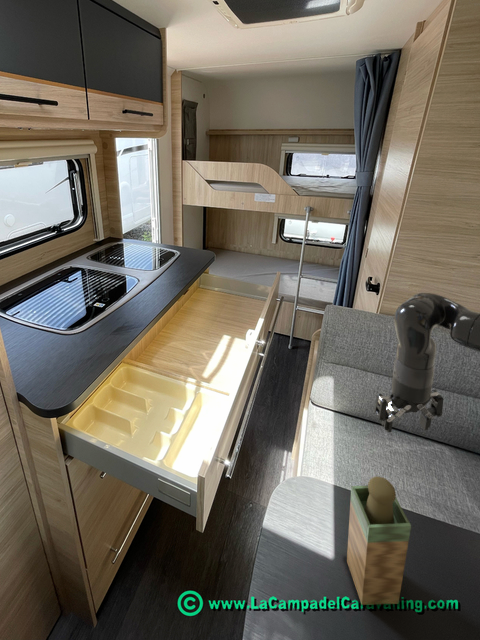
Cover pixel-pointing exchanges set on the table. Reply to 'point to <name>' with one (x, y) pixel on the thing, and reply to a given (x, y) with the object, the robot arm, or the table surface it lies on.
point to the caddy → (376, 551)
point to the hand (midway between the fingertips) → (405, 428)
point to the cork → (380, 501)
